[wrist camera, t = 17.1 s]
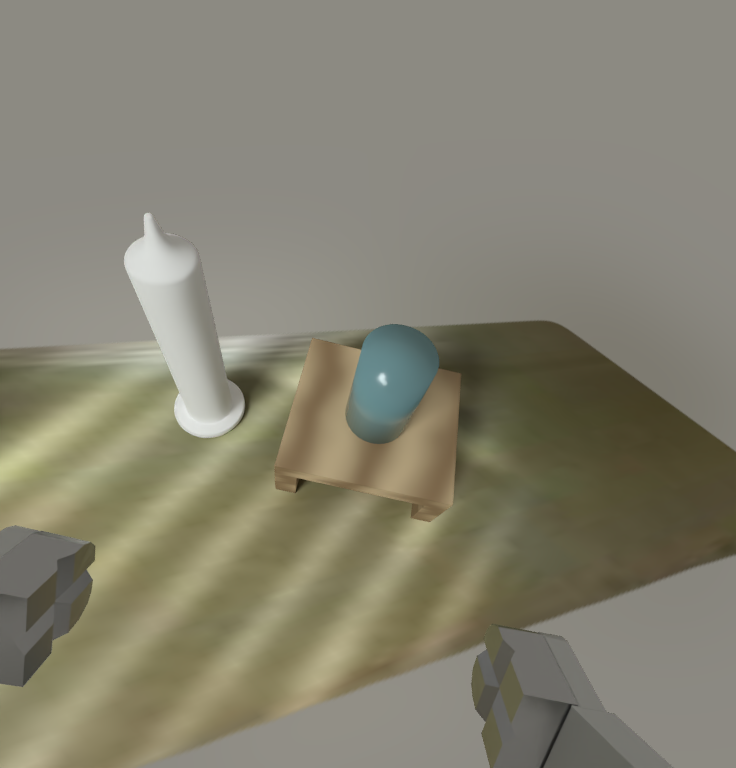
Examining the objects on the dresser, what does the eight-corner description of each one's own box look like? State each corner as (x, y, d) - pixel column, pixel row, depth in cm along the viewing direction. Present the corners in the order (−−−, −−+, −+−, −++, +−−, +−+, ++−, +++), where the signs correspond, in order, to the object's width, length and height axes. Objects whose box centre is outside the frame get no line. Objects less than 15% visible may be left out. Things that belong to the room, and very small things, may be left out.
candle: (229, 369, 49) (186, 165, 27) (256, 420, 46) (232, 239, 25) (165, 394, 46) (62, 188, 24) (190, 449, 43) (100, 274, 22)
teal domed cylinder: (339, 435, 39) (354, 378, 31) (352, 381, 42) (369, 316, 34) (402, 450, 39) (435, 398, 31) (410, 396, 43) (442, 335, 34)
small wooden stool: (275, 488, 43) (274, 465, 37) (308, 372, 50) (312, 337, 44) (429, 522, 44) (453, 504, 38) (440, 403, 51) (461, 373, 45)
